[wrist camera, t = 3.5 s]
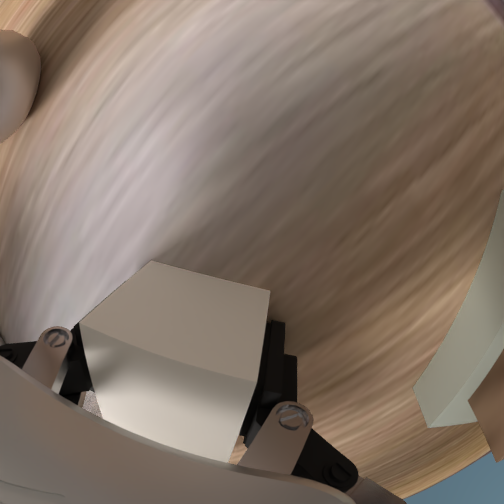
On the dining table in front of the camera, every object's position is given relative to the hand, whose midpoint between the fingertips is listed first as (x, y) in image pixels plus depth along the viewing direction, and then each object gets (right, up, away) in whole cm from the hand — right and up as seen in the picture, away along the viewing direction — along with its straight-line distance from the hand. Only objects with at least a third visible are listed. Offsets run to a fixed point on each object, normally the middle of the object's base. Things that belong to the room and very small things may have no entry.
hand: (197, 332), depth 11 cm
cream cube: (0, 0, +1) cm, 1 cm away
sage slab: (+17, 0, -1) cm, 18 cm away
